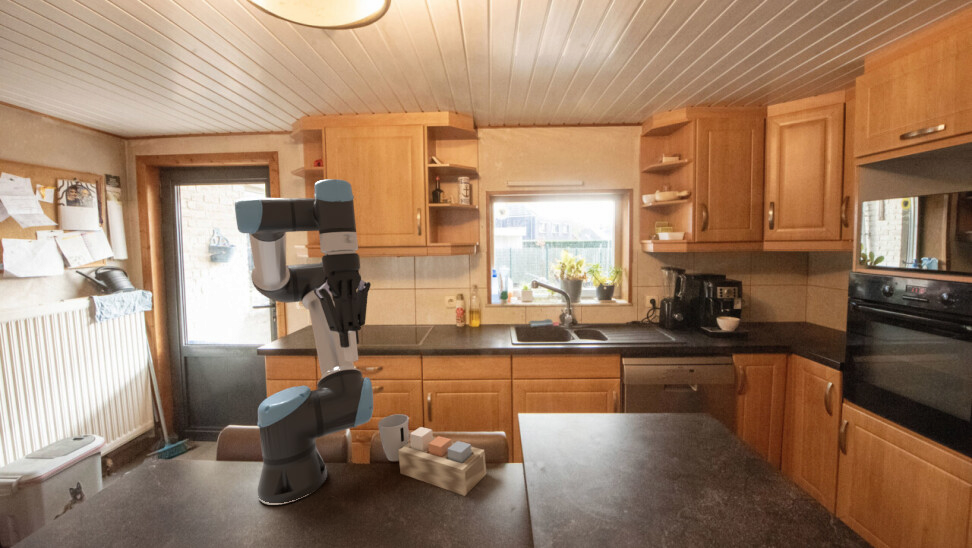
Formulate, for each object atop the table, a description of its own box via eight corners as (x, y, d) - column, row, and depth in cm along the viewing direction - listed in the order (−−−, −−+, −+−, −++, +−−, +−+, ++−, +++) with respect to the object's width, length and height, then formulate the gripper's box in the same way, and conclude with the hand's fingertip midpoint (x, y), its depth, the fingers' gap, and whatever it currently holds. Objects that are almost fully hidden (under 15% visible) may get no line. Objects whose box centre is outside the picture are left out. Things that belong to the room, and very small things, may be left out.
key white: (412, 456, 95) (409, 433, 94) (422, 448, 98) (420, 426, 98) (423, 460, 92) (421, 436, 92) (434, 452, 96) (432, 429, 95)
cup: (404, 465, 97) (400, 427, 97) (376, 463, 99) (372, 427, 98) (416, 448, 105) (413, 414, 105) (390, 447, 107) (386, 414, 106)
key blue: (449, 473, 88) (447, 448, 88) (459, 464, 91) (457, 440, 91) (463, 477, 86) (460, 452, 86) (473, 468, 89) (470, 444, 89)
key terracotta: (430, 467, 91) (428, 443, 91) (440, 458, 95) (438, 436, 94) (443, 471, 89) (440, 447, 89) (453, 462, 93) (451, 439, 92)
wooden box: (400, 473, 94) (398, 450, 93) (424, 455, 101) (422, 433, 101) (464, 495, 83) (462, 469, 83) (486, 473, 90) (484, 450, 90)
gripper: (323, 253, 73) (336, 371, 74) (375, 250, 84) (386, 353, 85) (301, 256, 77) (314, 368, 78) (354, 253, 88) (364, 351, 89)
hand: (351, 360), depth 82 cm, fingers closed
